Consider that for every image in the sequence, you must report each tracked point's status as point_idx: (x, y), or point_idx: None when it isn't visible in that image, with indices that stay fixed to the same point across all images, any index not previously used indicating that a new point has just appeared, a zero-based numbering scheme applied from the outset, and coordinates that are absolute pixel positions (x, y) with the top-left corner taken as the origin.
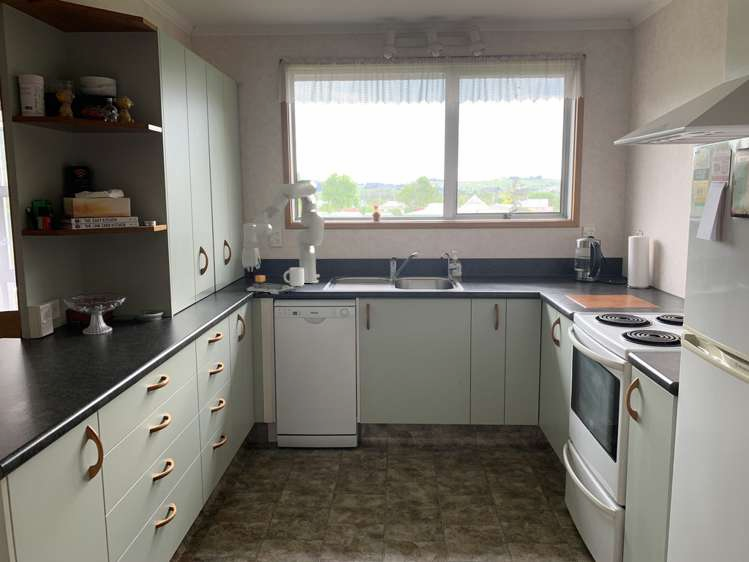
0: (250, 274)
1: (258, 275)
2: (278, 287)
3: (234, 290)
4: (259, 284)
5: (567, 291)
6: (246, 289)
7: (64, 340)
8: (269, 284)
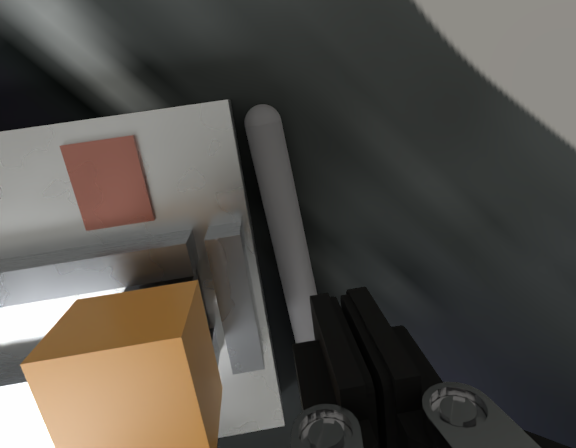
0: (356, 344)
1: (199, 426)
2: None
3: (462, 64)
4: (122, 273)
5: None
6: (260, 107)
7: None
8: None
